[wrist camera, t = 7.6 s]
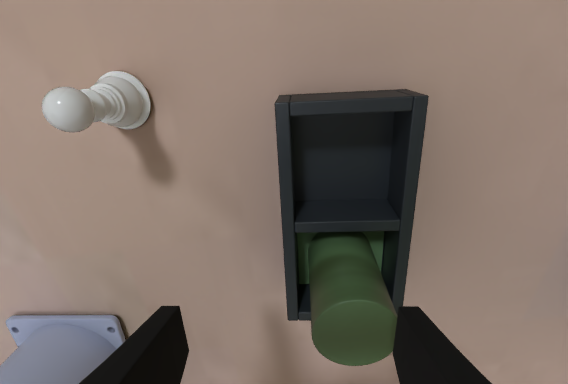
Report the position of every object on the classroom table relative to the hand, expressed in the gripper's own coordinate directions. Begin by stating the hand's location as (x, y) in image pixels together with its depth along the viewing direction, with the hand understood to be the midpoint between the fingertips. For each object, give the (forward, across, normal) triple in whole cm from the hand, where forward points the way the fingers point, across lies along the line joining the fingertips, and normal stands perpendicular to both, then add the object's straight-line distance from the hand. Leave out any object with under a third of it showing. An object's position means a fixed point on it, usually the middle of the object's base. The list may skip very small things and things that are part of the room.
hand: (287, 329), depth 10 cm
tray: (+8, -3, -1) cm, 9 cm away
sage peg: (+8, -3, +2) cm, 8 cm away
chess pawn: (+9, +8, -7) cm, 14 cm away
